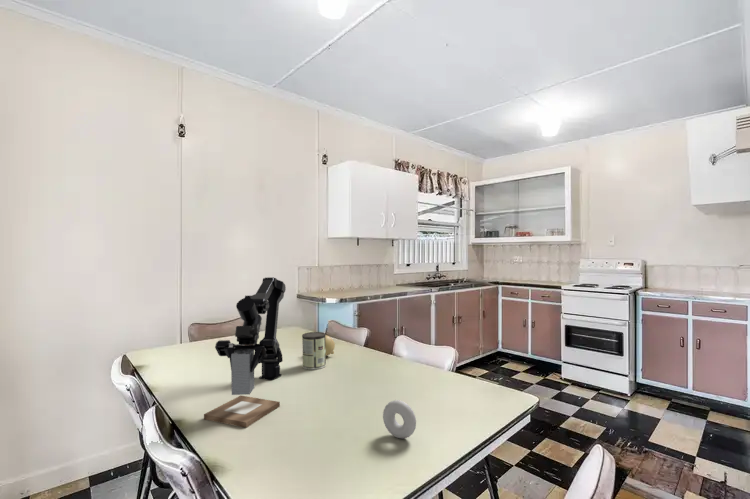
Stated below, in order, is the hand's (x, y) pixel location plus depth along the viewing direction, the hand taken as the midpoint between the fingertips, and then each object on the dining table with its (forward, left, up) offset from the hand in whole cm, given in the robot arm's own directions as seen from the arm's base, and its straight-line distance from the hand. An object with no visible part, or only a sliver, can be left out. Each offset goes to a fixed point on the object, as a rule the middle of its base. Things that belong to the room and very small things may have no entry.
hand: (241, 371), depth 118 cm
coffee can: (-5, +51, -13) cm, 53 cm away
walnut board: (-1, +1, -13) cm, 13 cm away
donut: (+50, +3, -13) cm, 52 cm away
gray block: (-1, +1, -7) cm, 7 cm away
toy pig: (-9, +66, -13) cm, 68 cm away
